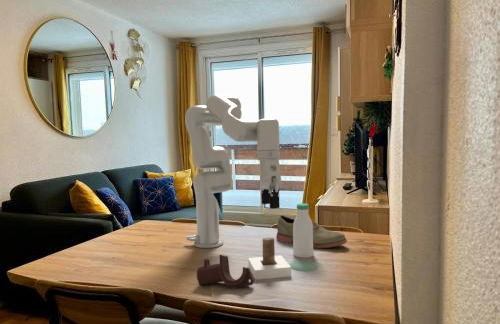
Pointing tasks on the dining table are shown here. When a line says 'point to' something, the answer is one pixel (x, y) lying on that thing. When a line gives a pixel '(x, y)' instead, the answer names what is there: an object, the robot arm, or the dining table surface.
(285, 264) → the pocket block
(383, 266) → the dining table surface
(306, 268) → the felt pad
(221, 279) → the bracket
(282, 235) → the oxford shoe
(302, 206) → the milk bottle
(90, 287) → the dining table surface
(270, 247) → the walnut dowel
